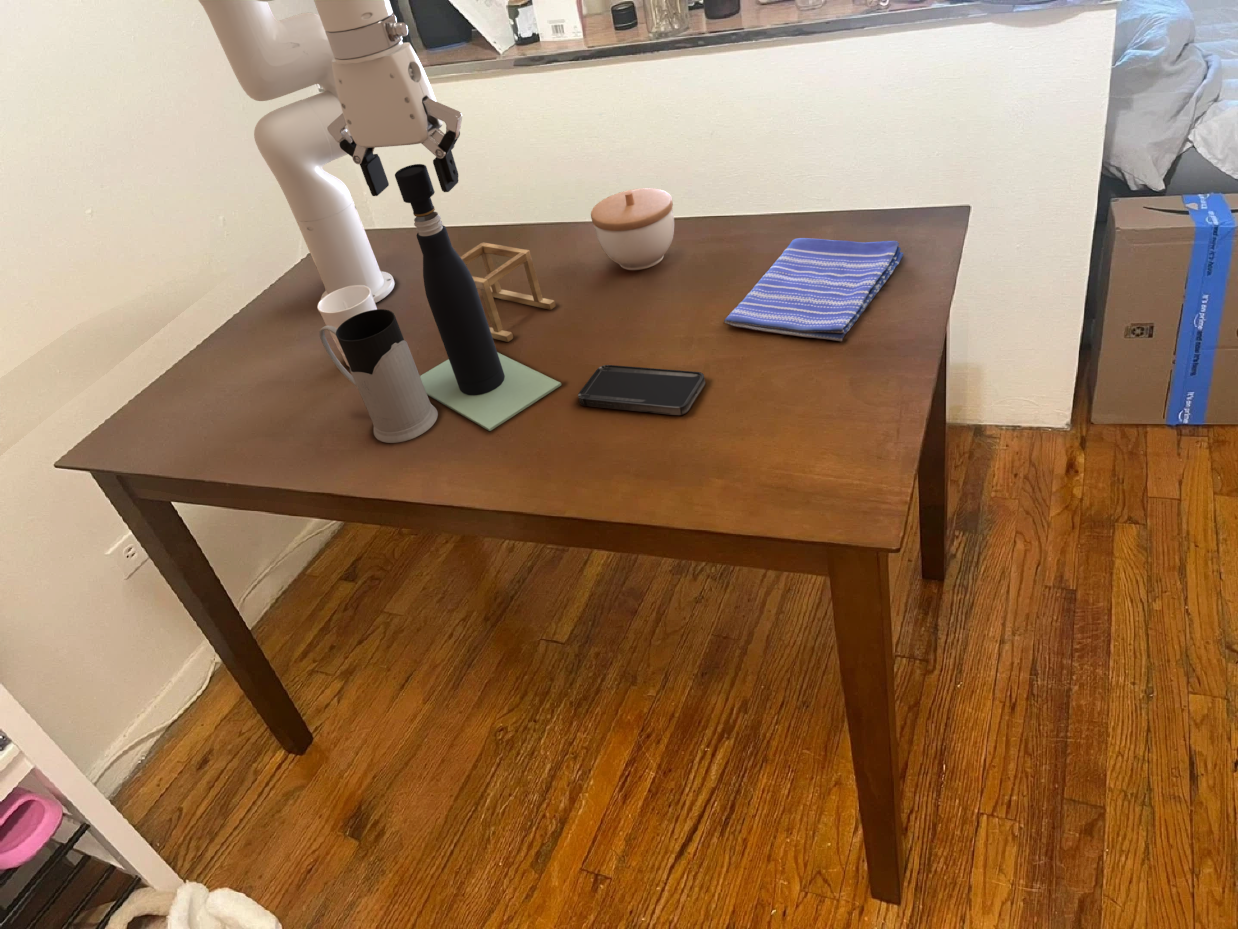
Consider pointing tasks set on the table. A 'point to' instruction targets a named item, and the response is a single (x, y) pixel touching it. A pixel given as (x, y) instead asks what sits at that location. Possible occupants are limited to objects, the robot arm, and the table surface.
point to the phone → (642, 389)
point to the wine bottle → (451, 291)
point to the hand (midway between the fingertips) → (415, 189)
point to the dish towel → (817, 288)
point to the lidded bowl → (635, 227)
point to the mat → (497, 404)
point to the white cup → (345, 307)
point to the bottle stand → (494, 275)
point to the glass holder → (383, 375)
